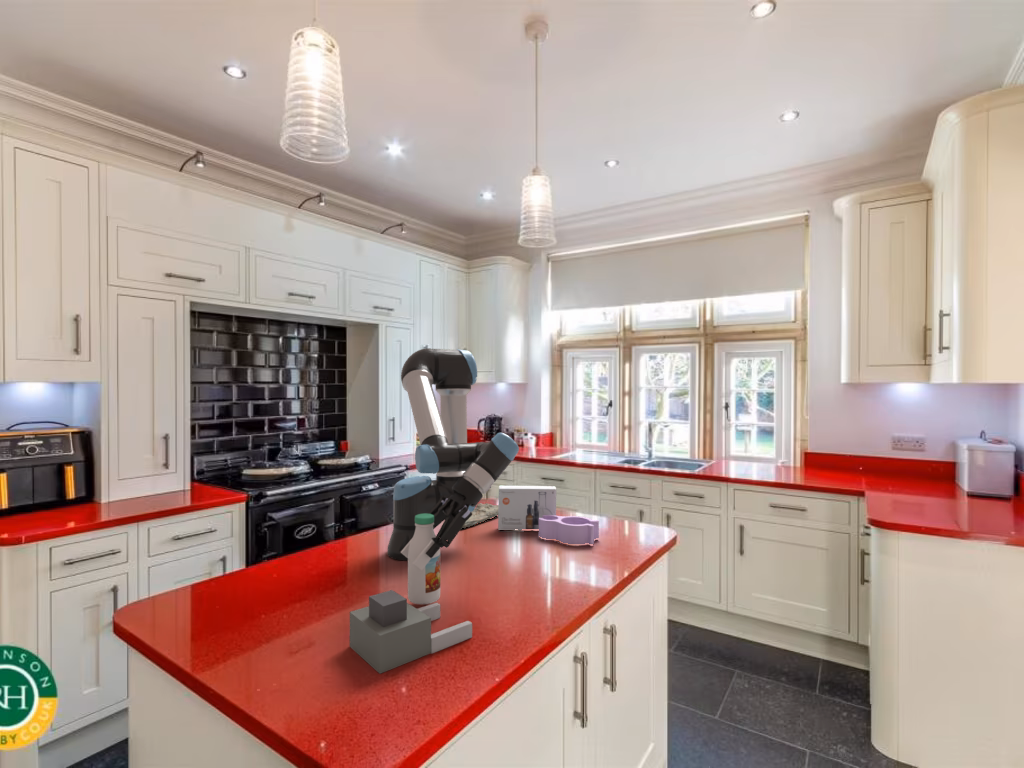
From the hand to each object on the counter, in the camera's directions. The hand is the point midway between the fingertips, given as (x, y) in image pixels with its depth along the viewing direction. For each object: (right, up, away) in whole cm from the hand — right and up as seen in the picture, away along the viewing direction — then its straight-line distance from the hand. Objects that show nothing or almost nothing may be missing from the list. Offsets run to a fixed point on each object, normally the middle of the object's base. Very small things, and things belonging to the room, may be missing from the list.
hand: (410, 561), depth 121 cm
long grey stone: (+10, -12, +79) cm, 81 cm away
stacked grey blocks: (+3, -11, -15) cm, 19 cm away
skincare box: (+29, -12, +67) cm, 74 cm away
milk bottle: (+3, -10, +2) cm, 10 cm away
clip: (+43, -12, +55) cm, 71 cm away
